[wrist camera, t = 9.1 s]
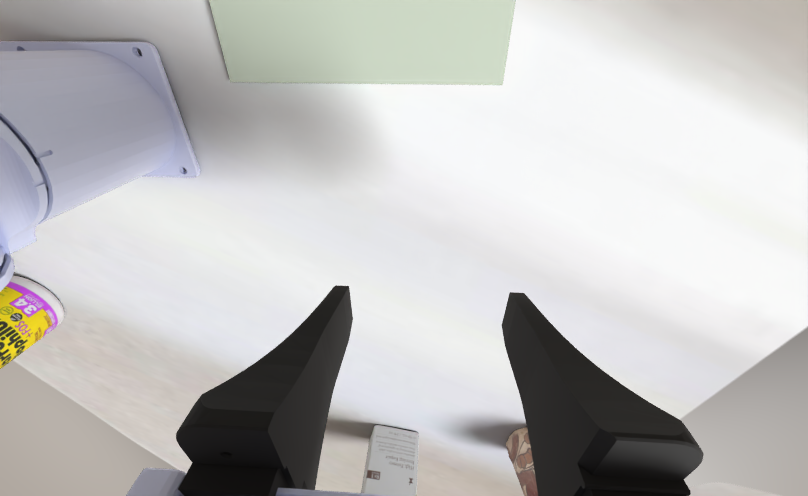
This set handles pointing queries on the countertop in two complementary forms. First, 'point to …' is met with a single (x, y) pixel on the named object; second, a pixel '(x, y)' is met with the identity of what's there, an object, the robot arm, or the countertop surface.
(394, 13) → the mat
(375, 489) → the skincare box
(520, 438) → the figurine
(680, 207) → the countertop surface
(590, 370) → the robot arm
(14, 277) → the supplement bottle
